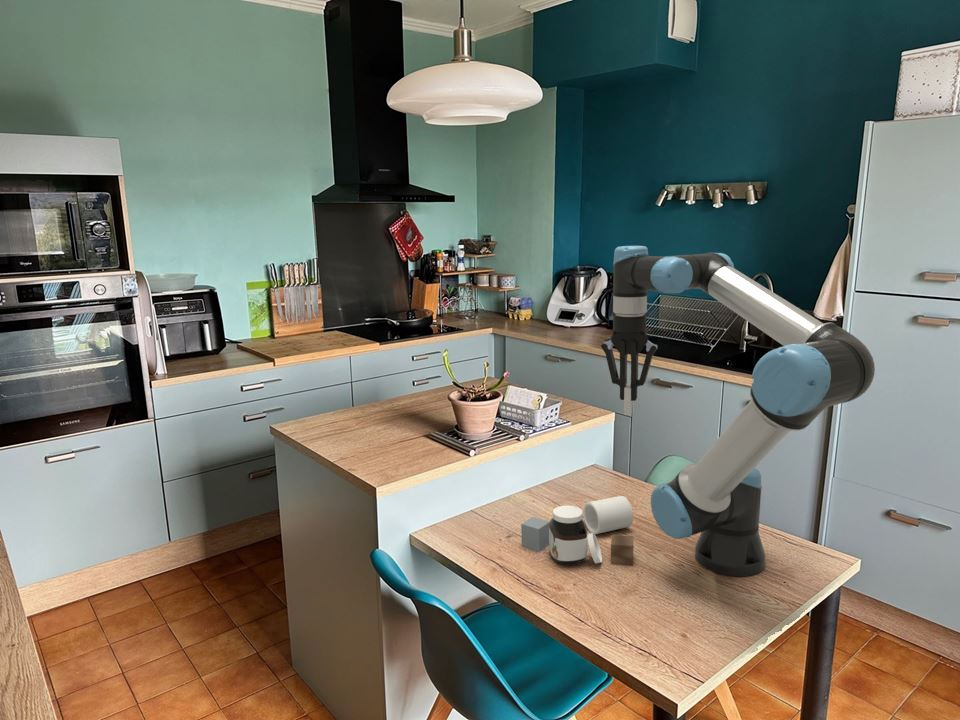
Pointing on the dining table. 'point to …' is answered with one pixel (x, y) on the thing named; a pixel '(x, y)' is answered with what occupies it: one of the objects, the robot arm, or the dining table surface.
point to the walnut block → (622, 550)
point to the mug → (608, 514)
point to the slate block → (535, 534)
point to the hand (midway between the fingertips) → (628, 413)
